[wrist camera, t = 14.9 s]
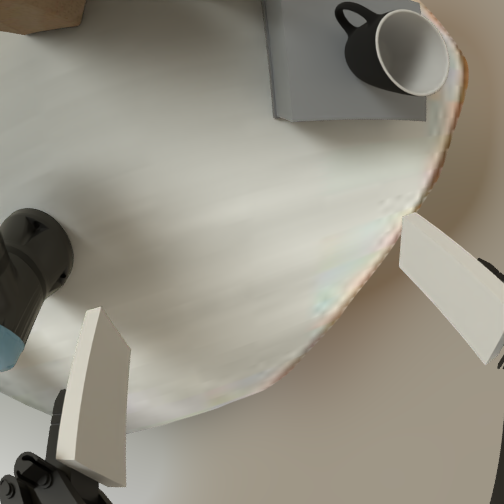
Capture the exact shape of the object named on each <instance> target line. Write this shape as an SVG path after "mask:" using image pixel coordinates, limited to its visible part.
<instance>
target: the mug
mask: <svg viewBox="0 0 504 504" xmlns="http://www.w3.org/2000/svg"><path fill="white" fill-rule="evenodd" d="M344 9H345V10H350V11H353V12H355V13H357V14H359V15H360V16H362V17H363V18H364V19H365V20H366V21H367V22H366V23H364V24H363V25H361V26H360V27H355V26H353V25H352V24H351V23H350V22H349V21H348V20H347V18H346V17H345V15H344V13H343V10H344ZM335 17H336V19H337V21H338V23H339V24H340V25H341V27H342V28H343V29H344V30H345V32H346V33H347V35H348V40H347V42H346V45H345V59H346V63H347V65H348V67H349V69H350V70H351V71H352V73H353V74H354V75H355V76H356V77H357V78H359V79H360V80H362V81H363V82H365V83H367V84H369V85H371V86H374V87H377V88H380V89H383V90H387V91H391V92H395V93H399V94H404V95H410V96H428V95H431V94H434V93H435V92H437V91H438V90H439V89H440V88H441V87H442V86H443V85H444V83H445V81H446V79H447V76H448V72H449V54H448V49H447V46H446V43H445V41H444V39H443V37H442V35H441V34H440V32H439V31H438V29H437V28H436V27H435V26H434V25H433V23H432V22H430V21H429V20H428V19H427V18H426V17H424V16H423V15H421V14H419V13H417V12H414V11H411V10H406V9H398V10H393V11H390V12H387V13H384V14H377V13H375V12H373V11H371V10H369V9H368V8H366V7H364V6H362V5H360V4H357V3H354V2H342V3H340V4H338V5H337V7H336V8H335Z"/></svg>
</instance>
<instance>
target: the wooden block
mask: <svg viewBox="0 0 504 504" xmlns="http://www.w3.org/2000/svg"><path fill="white" fill-rule="evenodd" d="M85 3H86V0H0V31H4V32H10V33H16V34H22V35H26V34H31V33H36V32H41V31H46V30H52V29H59V28H66V27H74V26H78V25H80V23H81V19H82V15H83V11H84V7H85Z"/></svg>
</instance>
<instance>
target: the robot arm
mask: <svg viewBox="0 0 504 504" xmlns="http://www.w3.org/2000/svg"><path fill="white" fill-rule="evenodd" d="M72 266H73V251H72V247H71V243H70V241H69V239H68V237H67V235H66V233H65V231H64V230H63V228H62V227H61V226H60V225H59V224H58V223H57V222H56V221H55V220H54V219H53V218H52V217H51V216H49V215H48V214H46V213H44V212H42V211H39V210H36V209H31V208H25V209H20V210H17V211H15V212H14V213H12V214H11V215H10V216H9V217H8V218H7V219H6V220H5V221H4V222H3V223H2V225H1V226H0V372H4V371H8V370H10V369H11V368H13V367H14V365H15V364H16V362H17V360H18V358H19V356H20V354H21V352H22V351H23V350H24V347H25V344H26V341H27V339H28V336H29V334H30V332H31V329H32V327H33V324H34V322H35V320H36V317H37V315H38V313H39V311H40V309H41V306H42V304H43V302H44V300H45V299H47V298H48V297H49V296H50V295H52V294H53V293H54V292H56V291H57V290H58V289H59V288H61V287H62V286H63V284H64V283H65V282H66V280H67V278H68V276H69V274H70V272H71V269H72ZM399 267H400V268H401V269H402V270H403V271H404V273H405V274H406V275H407V276H408V277H409V278H410V279H411V280H412V281H413V282H414V283H415V284H416V285H417V286H418V287H419V288H420V289H421V290H422V291H423V293H424V294H425V295H426V296H427V297H428V298H429V299H430V300H431V301H432V302H433V304H434V305H435V306H436V307H437V308H438V309H439V310H440V311H441V312H442V313H443V315H444V316H445V317H446V318H447V319H448V320H449V322H450V323H451V324H452V325H453V326H454V328H455V329H456V330H457V331H458V332H459V333H460V334H461V336H462V337H463V338H464V339H465V341H466V342H467V343H468V344H469V346H470V347H471V348H472V349H473V350H474V352H475V353H476V354H477V356H478V357H479V358H480V359H481V361H482V362H483V363H484V364H485V365H486V364H487V363H489V362H490V361H491V360H493V359H494V358H495V357H497V356H498V354H499V352H500V350H501V349H502V347H503V345H504V275H503V274H502V273H499V271H498V270H497V269H496V268H495V267H494V266H493V265H491V264H490V263H488V262H486V261H484V260H482V259H480V258H478V259H476V258H474V257H473V256H472V255H471V254H469V253H468V252H467V251H466V250H465V249H463V248H462V247H461V246H460V245H458V244H457V243H456V242H455V241H453V240H452V239H451V238H450V237H448V236H447V235H446V234H444V233H443V232H442V231H440V230H439V229H438V228H437V227H435V226H434V225H432V224H431V223H429V222H428V221H427V220H426V219H424V218H423V217H422V216H420V215H419V214H417V213H416V212H414V213H411V214H408V215H405V216H402V234H401V248H400V260H399ZM130 354H131V349H130V347H129V346H128V345H127V343H126V342H125V340H124V339H123V338H122V336H121V335H120V333H119V332H118V330H117V329H116V328H115V326H114V325H113V323H112V322H111V320H110V319H109V317H108V316H107V314H106V313H105V311H104V310H103V308H102V307H97V308H94V309H90V310H87V311H86V314H85V318H84V321H83V324H82V328H81V331H80V335H79V339H78V342H77V346H76V350H75V354H74V358H73V362H72V366H71V370H70V375H69V379H68V384H67V389H64V390H61V391H60V393H59V395H58V396H57V398H56V400H55V403H54V408H53V416H52V420H51V426H50V431H49V438H48V445H47V453H46V459H45V460H43V459H42V458H40V457H38V456H37V455H35V454H34V453H31V452H24V453H22V454H21V455H20V456H19V457H18V458H17V460H16V463H15V466H14V475H15V477H14V476H11V475H5V476H4V477H3V478H2V479H1V481H0V501H1V504H112V503H111V501H110V500H109V499H108V498H107V496H106V495H105V494H104V493H103V492H102V491H101V490H100V489H99V488H98V487H99V483H101V484H103V485H105V486H107V487H126V457H125V456H126V448H125V447H126V410H127V391H128V377H129V365H130ZM503 362H504V355H503V357H502V358H501V360H500V362H499V363H498V369H500V367H501V366H502V364H503ZM503 369H504V367H503ZM490 504H504V424H503V434H502V443H501V451H500V458H499V464H498V469H497V475H496V480H495V484H494V489H493V493H492V497H491V501H490Z"/></svg>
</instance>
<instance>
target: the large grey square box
mask: <svg viewBox="0 0 504 504" xmlns="http://www.w3.org/2000/svg"><path fill="white" fill-rule="evenodd" d="M342 2H354V3H357V4H360V5H362V6H364V7H366V8H368V9H369V10H371V11H373V12H375V13H377V14H384V13H387V12H390V11H393V10H398V9H406V10H411V11H414V12H417V13H419V14H421V10H420V4H419V3H417V2H414V1H411V0H262V9H263V17H264V26H265V35H266V44H267V54H268V64H269V74H270V84H271V95H272V107H273V118H283V119H286V120H288V121H291V122H300V121H317V120H344V119H387V120H413V121H426V96H410V95H404V94H399V93H395V92H391V91H387V90H383V89H380V88H377V87H374V86H371V85H369V84H367V83H365V82H363V81H362V80H360V79H359V78H357V77H356V76H355V75H354V74H353V73H352V71H351V70H350V69H349V67H348V65H347V63H346V59H345V45H346V42H347V40H348V35H347V33H346V32H345V30H344V29H343V28H342V27H341V25H340V24H339V23H338V21H337V19H336V17H335V8H336V7H337V5H338V4H340V3H342ZM343 13H344V15H345V17H346V18H347V20H348V21H349V22H350V23H351V24H352V25H353V26H355V27H360V26H361V25H363V24H364V23H366V22H367V21H366V20H365V19H364V18H363V17H362V16H360V15H359V14H357V13H355V12H353V11H350V10H345V9H344V10H343Z"/></svg>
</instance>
